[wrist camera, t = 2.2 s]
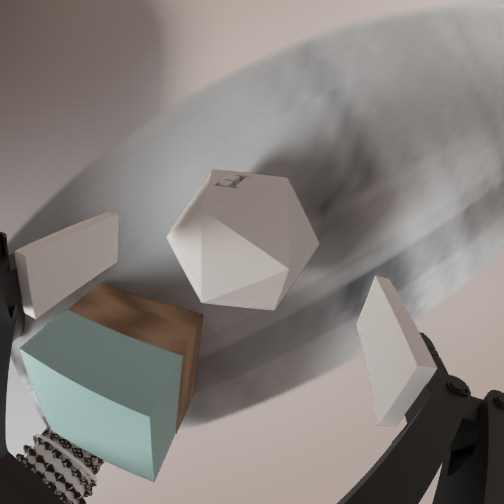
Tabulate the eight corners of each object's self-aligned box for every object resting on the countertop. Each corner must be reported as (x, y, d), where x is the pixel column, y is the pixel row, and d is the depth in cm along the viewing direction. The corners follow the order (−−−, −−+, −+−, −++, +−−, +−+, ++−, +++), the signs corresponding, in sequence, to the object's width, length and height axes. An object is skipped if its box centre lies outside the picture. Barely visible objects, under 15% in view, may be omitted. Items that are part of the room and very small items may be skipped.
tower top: (81, 392, 24) (51, 430, 18) (66, 309, 20) (19, 348, 15) (175, 433, 23) (154, 482, 18) (183, 355, 20) (149, 417, 14)
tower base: (109, 361, 30) (82, 394, 24) (102, 282, 26) (65, 311, 21) (194, 392, 29) (176, 433, 23) (203, 313, 25) (180, 355, 20)
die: (336, 216, 21) (306, 139, 13) (303, 331, 20) (248, 325, 12) (241, 200, 25) (175, 135, 17) (207, 298, 24) (119, 272, 15)
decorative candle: (84, 357, 30) (-35, 501, 7) (148, 401, 31) (54, 569, 7) (76, 391, 33) (-15, 511, 10) (130, 428, 34) (55, 562, 10)
